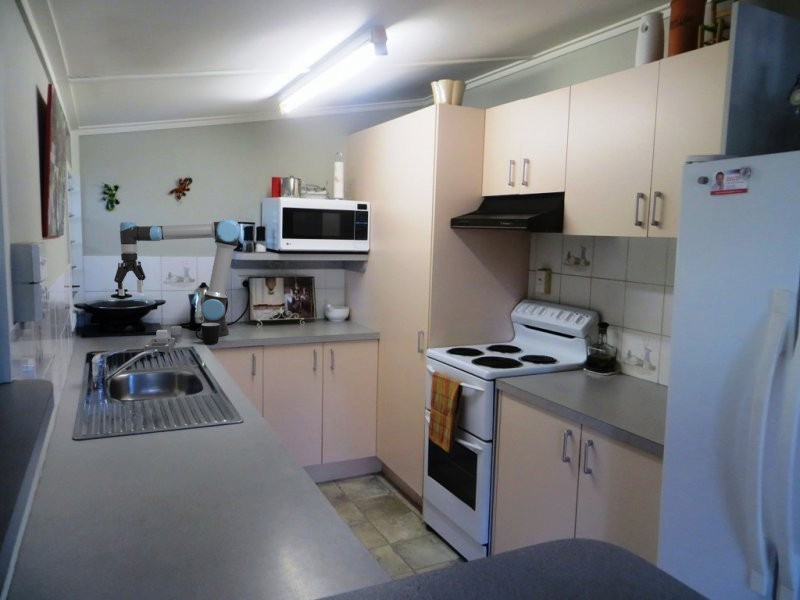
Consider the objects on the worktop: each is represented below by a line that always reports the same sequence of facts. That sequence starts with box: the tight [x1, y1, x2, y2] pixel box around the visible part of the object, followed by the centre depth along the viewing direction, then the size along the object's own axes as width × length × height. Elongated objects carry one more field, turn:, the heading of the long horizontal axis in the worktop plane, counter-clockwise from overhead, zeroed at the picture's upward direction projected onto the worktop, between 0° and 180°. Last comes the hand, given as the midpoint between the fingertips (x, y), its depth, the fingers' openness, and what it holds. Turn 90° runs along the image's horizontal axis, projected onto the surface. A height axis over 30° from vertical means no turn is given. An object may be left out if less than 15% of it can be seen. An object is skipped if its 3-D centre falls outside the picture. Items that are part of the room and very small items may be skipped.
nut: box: [170, 325, 183, 344], centre depth 306 cm, size 5×5×8 cm
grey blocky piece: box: [143, 329, 177, 354], centre depth 290 cm, size 11×20×8 cm, turn 12°
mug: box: [195, 323, 220, 346], centre depth 304 cm, size 12×9×10 cm
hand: (131, 294), depth 304 cm, fingers open, 13 cm apart
